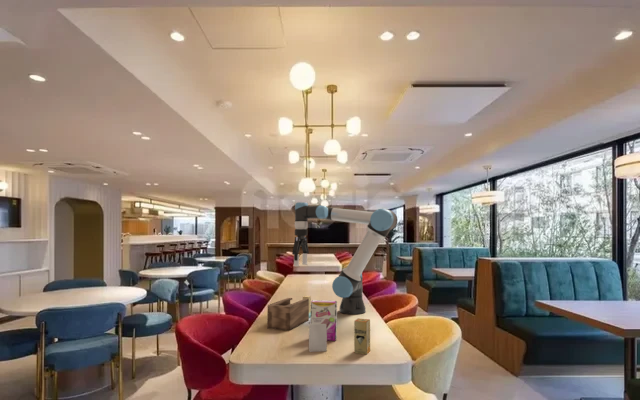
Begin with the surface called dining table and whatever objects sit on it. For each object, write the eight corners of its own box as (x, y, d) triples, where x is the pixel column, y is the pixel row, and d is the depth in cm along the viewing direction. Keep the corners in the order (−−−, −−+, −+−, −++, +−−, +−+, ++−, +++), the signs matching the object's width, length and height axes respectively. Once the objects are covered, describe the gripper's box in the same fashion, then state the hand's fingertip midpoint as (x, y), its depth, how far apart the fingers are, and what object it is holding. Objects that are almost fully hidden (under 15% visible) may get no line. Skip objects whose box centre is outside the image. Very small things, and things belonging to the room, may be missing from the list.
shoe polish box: (358, 349, 156) (357, 318, 157) (370, 350, 154) (370, 319, 155) (354, 352, 152) (354, 320, 153) (366, 354, 150) (366, 322, 151)
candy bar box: (310, 340, 168) (310, 301, 170) (311, 337, 173) (311, 299, 175) (336, 341, 167) (336, 302, 169) (337, 338, 172) (337, 300, 174)
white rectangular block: (326, 351, 154) (326, 325, 155) (309, 351, 153) (309, 325, 154) (325, 348, 157) (325, 322, 158) (308, 348, 157) (308, 323, 158)
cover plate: (320, 313, 227) (320, 294, 228) (306, 320, 209) (306, 299, 210) (306, 312, 230) (306, 293, 231) (292, 319, 212) (292, 298, 213)
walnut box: (308, 320, 207) (308, 299, 208) (290, 330, 185) (290, 306, 186) (287, 318, 211) (288, 297, 212) (267, 328, 190) (267, 305, 190)
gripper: (302, 228, 244) (302, 263, 243) (286, 228, 221) (286, 266, 219) (314, 229, 242) (313, 264, 240) (299, 228, 218) (298, 267, 217)
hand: (300, 265), depth 230 cm, fingers open, 13 cm apart
